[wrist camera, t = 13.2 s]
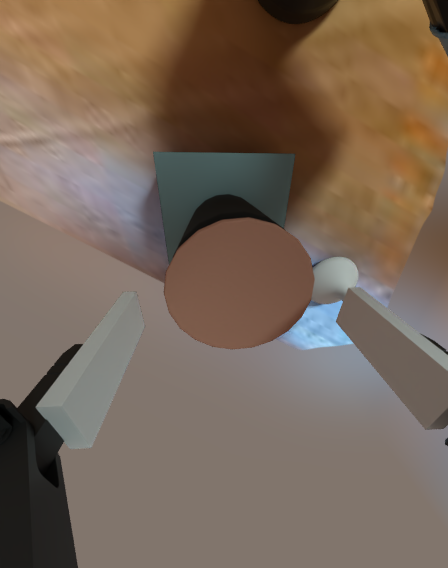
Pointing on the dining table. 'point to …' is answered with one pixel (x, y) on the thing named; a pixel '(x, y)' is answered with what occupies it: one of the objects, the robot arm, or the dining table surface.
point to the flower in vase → (333, 279)
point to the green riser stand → (219, 185)
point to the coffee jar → (237, 276)
